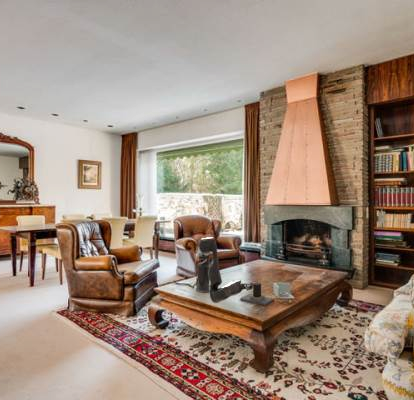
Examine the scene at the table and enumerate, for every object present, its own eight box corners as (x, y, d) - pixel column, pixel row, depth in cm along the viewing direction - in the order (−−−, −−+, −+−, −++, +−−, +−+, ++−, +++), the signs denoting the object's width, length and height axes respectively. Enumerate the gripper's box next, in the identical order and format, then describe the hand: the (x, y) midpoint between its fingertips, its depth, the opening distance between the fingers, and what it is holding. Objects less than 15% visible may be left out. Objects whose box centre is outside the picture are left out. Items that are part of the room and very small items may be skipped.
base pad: (240, 300, 213) (240, 295, 213) (250, 295, 224) (250, 290, 224) (264, 306, 202) (264, 301, 202) (273, 300, 213) (273, 295, 213)
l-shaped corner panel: (278, 298, 218) (278, 287, 218) (273, 292, 230) (273, 282, 230) (295, 298, 218) (295, 287, 218) (289, 292, 230) (289, 282, 230)
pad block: (253, 298, 212) (253, 284, 212) (256, 297, 216) (256, 282, 216) (257, 299, 210) (257, 285, 210) (261, 298, 214) (261, 283, 214)
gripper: (243, 284, 187) (256, 279, 200) (223, 280, 196) (236, 275, 209) (243, 297, 187) (256, 290, 200) (223, 292, 196) (236, 286, 209)
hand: (246, 283), depth 204 cm, fingers open, 8 cm apart
